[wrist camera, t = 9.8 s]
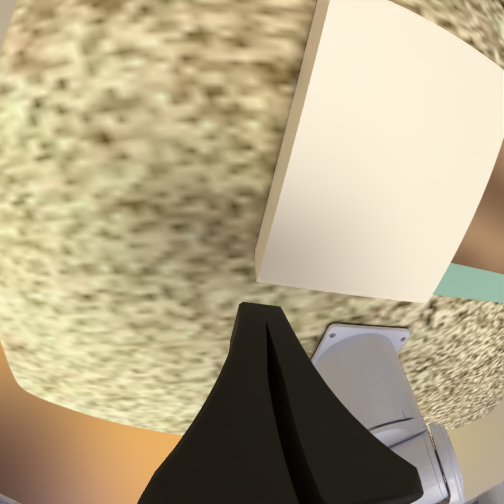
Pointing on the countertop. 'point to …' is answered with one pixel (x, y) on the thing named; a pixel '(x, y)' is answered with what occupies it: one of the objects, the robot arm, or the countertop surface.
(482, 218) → the walnut coaster
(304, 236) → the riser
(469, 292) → the sage mat
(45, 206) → the countertop surface
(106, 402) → the countertop surface
